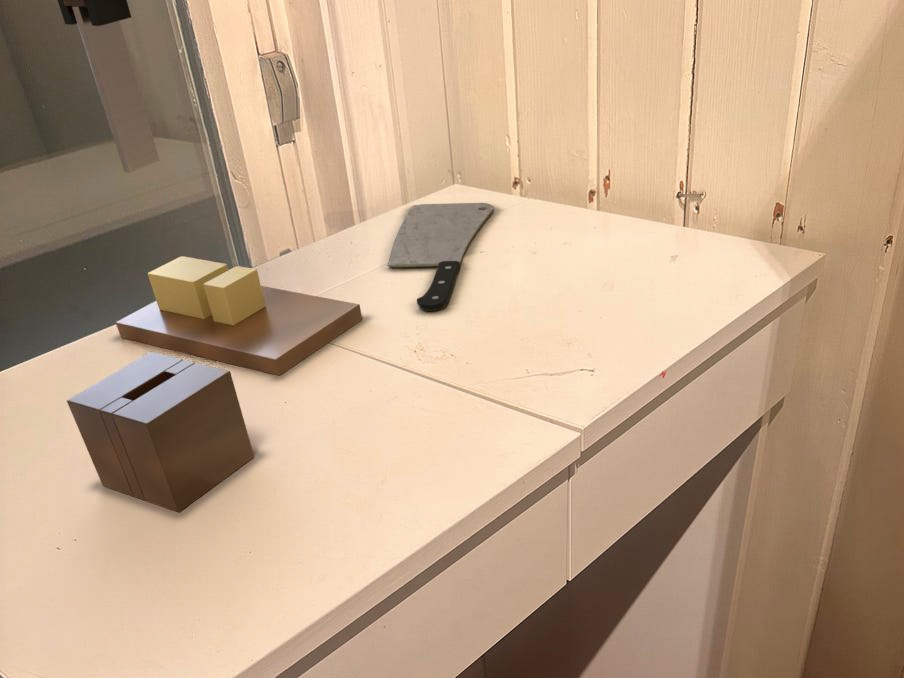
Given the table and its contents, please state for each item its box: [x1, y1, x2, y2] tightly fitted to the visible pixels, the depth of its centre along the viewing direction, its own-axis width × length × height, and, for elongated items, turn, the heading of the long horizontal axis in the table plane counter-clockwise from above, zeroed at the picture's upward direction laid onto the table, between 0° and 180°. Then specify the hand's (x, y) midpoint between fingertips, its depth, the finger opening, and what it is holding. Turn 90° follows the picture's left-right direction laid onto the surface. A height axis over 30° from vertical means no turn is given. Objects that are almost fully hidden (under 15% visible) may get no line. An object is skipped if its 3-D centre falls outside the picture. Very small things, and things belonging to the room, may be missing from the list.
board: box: [115, 285, 363, 376], centre depth 86 cm, size 20×12×2 cm, turn 59°
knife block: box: [66, 351, 255, 513], centre depth 66 cm, size 8×8×7 cm
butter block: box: [147, 255, 230, 319], centre depth 86 cm, size 6×4×4 cm
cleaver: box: [386, 202, 495, 311], centre depth 96 cm, size 29×1×10 cm
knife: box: [63, 0, 160, 174], centre depth 60 cm, size 2×3×19 cm, turn 148°
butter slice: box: [203, 265, 266, 326], centre depth 84 cm, size 2×4×4 cm, turn 149°
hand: (98, 20), depth 61 cm, fingers closed on knife, 2 cm apart
